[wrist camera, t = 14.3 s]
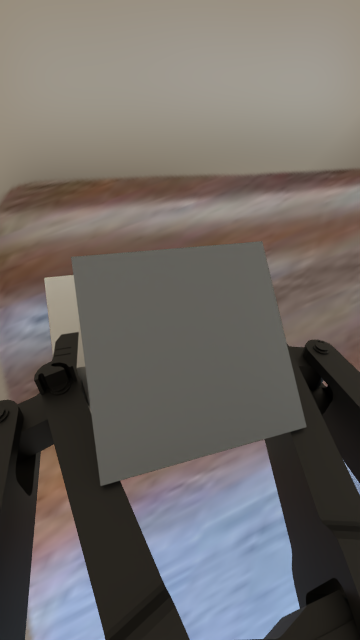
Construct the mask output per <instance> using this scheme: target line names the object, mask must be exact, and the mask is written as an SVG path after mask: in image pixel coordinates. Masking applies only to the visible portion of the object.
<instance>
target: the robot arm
mask: <svg viewBox="0 0 360 640" xmlns="http://www.w3.org/2000/svg"><path fill="white" fill-rule="evenodd" d="M287 347H288V351H289V356H290V360H291V364H292V368H293V372H294V376H295V381H296V385H297V389H298V393H299V397H300V402H301V406H302V410H303V414H304V418H305V422H306V427H305V428H302V429H298V430H295V431H291V432H288V433H284V434H281V435H277V436H274V437H270V438H267V439H265V443H266V447H267V451H268V455H269V459H270V463H271V467H272V471H273V475H274V479H275V483H276V487H277V491H278V495H279V499H280V503H281V507H282V511H283V515H284V519H285V523H286V527H287V531H288V535H289V539H290V543H291V548H292V573H293V579H294V585H295V589H296V593H297V597H298V602H299V606H300V609H299V610H297V611H295V612H293V613H291V614H289V615H287V616H285V617H283V618H281V620H280V621H279V622H278V623H277V624H276V625H275V626H274V627H273V629H272V630H271V631H270V632H269V633H268V634H267V635H266V637H265V638H264V639H252V640H360V495H359V493H358V491H357V489H356V487H355V484H354V482H353V480H352V478H351V476H350V474H349V472H348V470H347V468H346V465H345V463H346V464H347V466H348V467H349V469H350V470H351V472H352V473H353V474H354V476H355V477H356V479H357V480H358V481H359V483H360V372H359V371H358V370H357V369H356V368H355V367H354V366H353V365H351V364H350V363H349V362H348V361H347V360H346V359H345V358H344V357H343V356H342V355H341V354H340V353H339V352H338V351H337V350H336V349H335V348H334V347H333V346H331V345H330V344H328V343H326V342H324V341H320V340H310V341H308V342H307V343H306V345H305V347H304V348H303V347H289V346H288V344H287ZM323 380H324V381H325V382H326V383H327V384H328V386H327V387H326V386H324V384H323V383H322V382H323ZM34 381H35V383H36V385H37V387H38V389H39V392H40V393H39V394H38V395H37V396H35V397H33V398H31V399H29V400H26V401H24V402H22V403H20V404H16V403H15V402H14V401H11V400H3V401H0V640H25V631H26V619H27V607H28V596H29V584H30V572H31V560H32V548H33V537H34V525H35V513H36V501H37V489H38V478H39V466H40V454H41V451H42V450H44V449H46V448H47V447H49V446H51V445H53V444H54V445H55V449H56V453H57V457H58V460H59V464H60V468H61V472H62V475H63V479H64V483H65V487H66V491H67V494H68V498H69V502H70V506H71V510H72V513H73V517H74V521H75V525H76V528H77V532H78V536H79V540H80V544H81V547H82V551H83V555H84V559H85V562H86V566H87V570H88V574H89V578H90V581H91V585H92V589H93V593H94V596H95V600H96V604H97V608H98V612H99V615H100V619H101V623H102V627H103V631H104V635H105V640H190V639H189V637H188V635H187V632H186V630H185V628H184V625H183V623H182V621H181V618H180V616H179V614H178V612H177V609H176V607H175V605H174V603H173V601H172V598H171V596H170V594H169V593H168V591H167V589H166V587H165V585H164V583H163V580H162V578H161V576H160V574H159V571H158V569H157V567H156V564H155V562H154V559H153V557H152V555H151V552H150V550H149V548H148V545H147V543H146V541H145V538H144V536H143V534H142V531H141V529H140V527H139V524H138V522H137V519H136V517H135V515H134V512H133V510H132V508H131V505H130V503H129V501H128V498H127V496H126V494H125V491H124V489H123V487H122V484H121V482H120V481H117V482H113V483H110V484H106V485H103V486H101V485H100V477H99V469H98V461H97V454H96V446H95V438H94V430H93V423H92V415H91V407H90V399H89V391H88V384H87V376H86V368H85V360H84V353H83V345H82V337H81V329H80V322H79V332H75V333H68V334H61V335H60V337H59V338H58V339H57V341H56V342H55V348H54V354H53V360H52V362H49V363H47V364H45V365H43V366H42V367H41V368H40V369H39V370H38V371H37V372H36V374H35V378H34ZM88 406H89V407H88ZM343 460H344V461H343ZM344 462H345V463H344Z"/></svg>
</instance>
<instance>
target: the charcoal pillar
mask: <svg viewBox="0 0 360 640" xmlns="http://www.w3.org/2000/svg"><path fill="white" fill-rule="evenodd" d="M71 259H72V267H73V275H74V283H75V290H76V298H77V306H78V314H79V322H80V329H81V337H82V345H83V353H84V360H85V368H86V376H87V384H88V391H89V399H90V407H91V415H92V423H93V430H94V438H95V446H96V454H97V461H98V469H99V477H100V485H101V486H103V485H106V484H110V483H113V482H117V481H120V480H124V479H127V478H130V477H134V476H137V475H141V474H144V473H148V472H151V471H155V470H158V469H162V468H165V467H169V466H172V465H176V464H179V463H183V462H186V461H190V460H193V459H197V458H200V457H204V456H207V455H211V454H214V453H218V452H221V451H225V450H228V449H232V448H235V447H239V446H242V445H246V444H249V443H253V442H256V441H260V440H263V439H267V438H270V437H274V436H277V435H281V434H284V433H288V432H291V431H295V430H298V429H302V428H305V427H306V422H305V418H304V414H303V410H302V406H301V402H300V397H299V393H298V389H297V385H296V381H295V376H294V372H293V368H292V364H291V360H290V356H289V351H288V347H287V343H286V339H285V335H284V331H283V326H282V322H281V318H280V314H279V310H278V305H277V301H276V297H275V293H274V289H273V285H272V280H271V276H270V272H269V268H268V264H267V259H266V255H265V251H264V247H263V243H262V241H261V242H249V243H237V244H225V245H213V246H200V247H188V248H176V249H164V250H152V251H139V252H127V253H115V254H103V255H90V256H78V257H71Z"/></svg>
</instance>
